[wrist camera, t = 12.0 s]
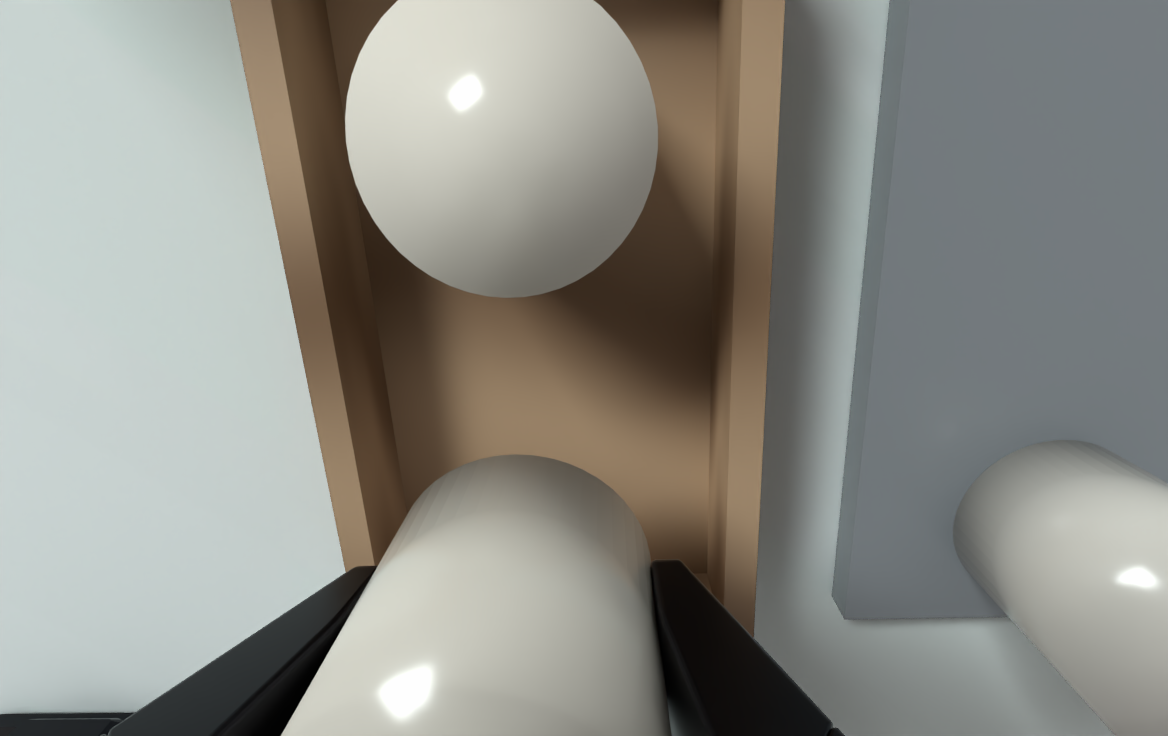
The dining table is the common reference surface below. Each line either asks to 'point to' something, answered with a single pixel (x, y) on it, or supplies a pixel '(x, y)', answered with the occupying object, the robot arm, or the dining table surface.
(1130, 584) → the white rounded stone
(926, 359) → the slate board
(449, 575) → the pebble
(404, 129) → the pebble
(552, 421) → the walnut bin
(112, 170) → the dining table surface
